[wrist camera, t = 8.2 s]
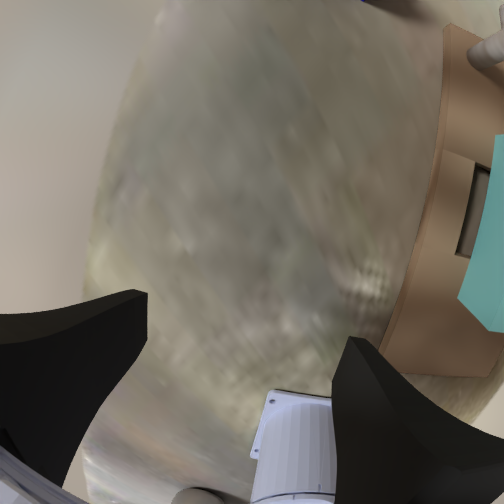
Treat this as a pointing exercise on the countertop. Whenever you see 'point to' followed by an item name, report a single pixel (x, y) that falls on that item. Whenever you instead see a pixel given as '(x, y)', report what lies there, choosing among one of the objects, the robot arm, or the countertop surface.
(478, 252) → the teal rectangular block
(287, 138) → the countertop surface
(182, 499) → the plastic bottle
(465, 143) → the slotted wooden board
